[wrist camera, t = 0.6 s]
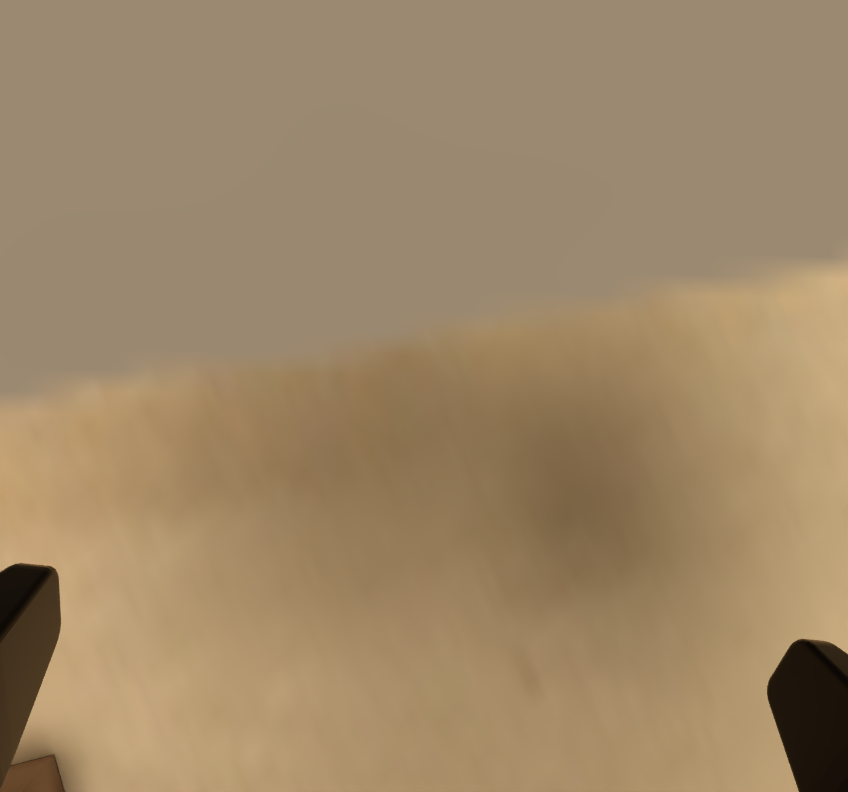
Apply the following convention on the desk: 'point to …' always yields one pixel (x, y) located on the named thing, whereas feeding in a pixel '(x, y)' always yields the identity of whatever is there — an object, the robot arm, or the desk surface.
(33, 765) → the press housing
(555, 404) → the desk surface
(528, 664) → the desk surface
